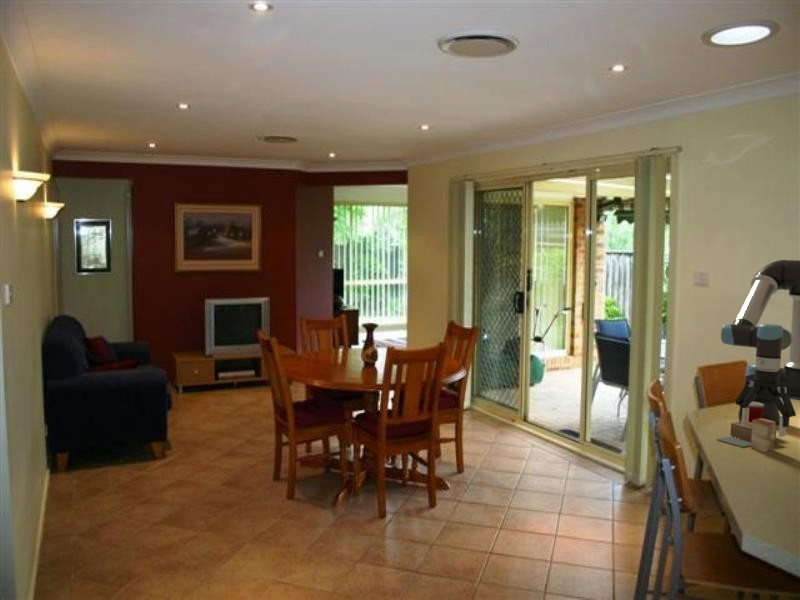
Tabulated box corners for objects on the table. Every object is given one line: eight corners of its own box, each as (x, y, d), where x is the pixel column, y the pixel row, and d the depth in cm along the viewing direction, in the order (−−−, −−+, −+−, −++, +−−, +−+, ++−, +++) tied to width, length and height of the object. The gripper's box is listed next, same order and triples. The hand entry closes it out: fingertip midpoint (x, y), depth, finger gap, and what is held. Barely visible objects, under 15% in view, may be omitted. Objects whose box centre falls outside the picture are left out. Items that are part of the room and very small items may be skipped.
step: (744, 434, 251) (745, 420, 250) (775, 442, 240) (776, 428, 240) (730, 436, 247) (731, 423, 246) (761, 445, 236) (762, 431, 236)
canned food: (765, 435, 249) (767, 406, 248) (741, 433, 251) (743, 404, 250) (758, 430, 257) (760, 401, 256) (736, 428, 258) (737, 400, 257)
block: (759, 446, 235) (761, 418, 234) (773, 450, 231) (775, 421, 230) (750, 448, 233) (752, 419, 232) (764, 452, 228) (766, 423, 228)
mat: (731, 437, 245) (731, 436, 245) (756, 444, 237) (756, 443, 237) (716, 440, 242) (716, 439, 242) (742, 447, 233) (742, 446, 233)
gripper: (727, 364, 239) (723, 423, 240) (796, 376, 217) (792, 441, 218) (740, 363, 242) (736, 421, 244) (810, 375, 220) (805, 439, 222)
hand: (762, 431), depth 231 cm, fingers open, 13 cm apart
